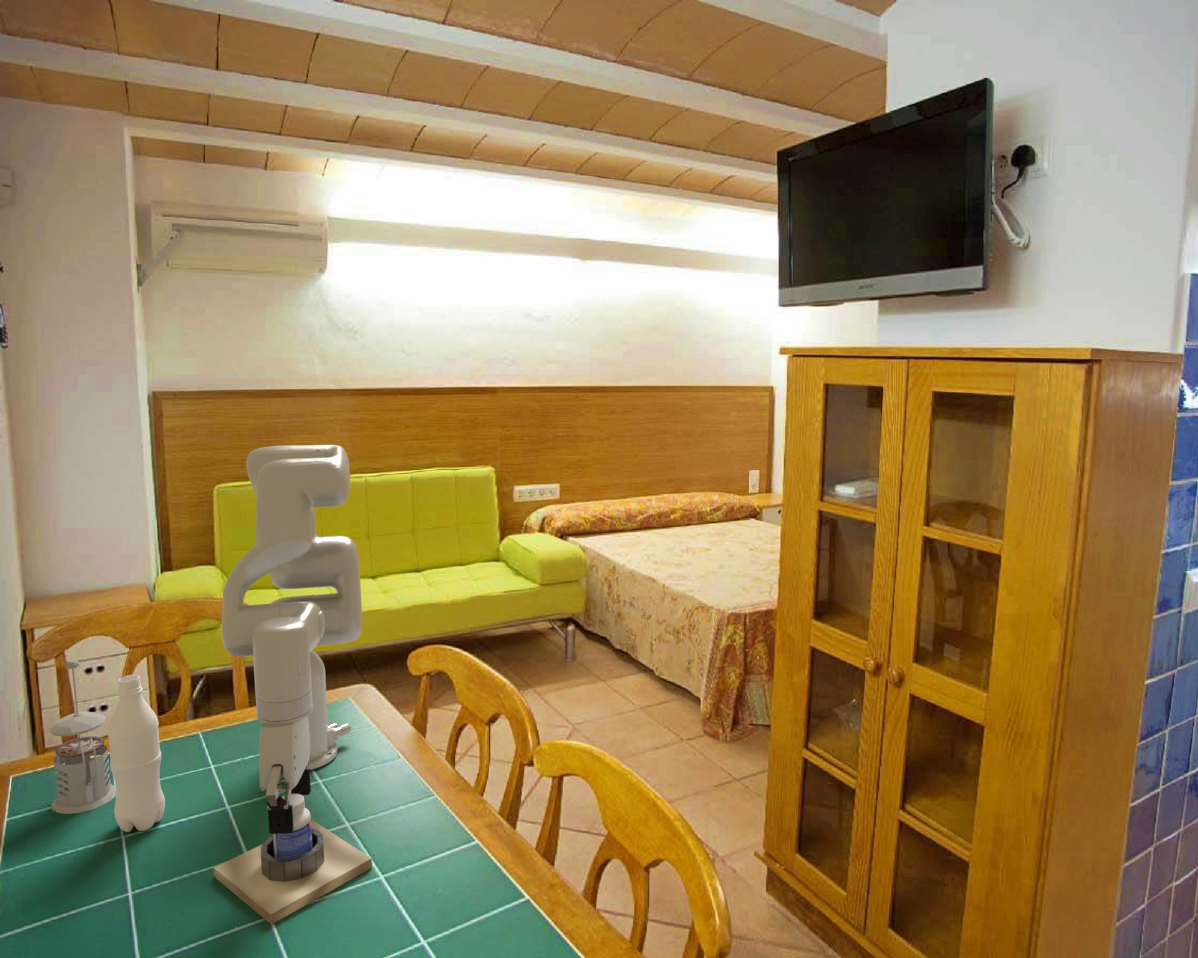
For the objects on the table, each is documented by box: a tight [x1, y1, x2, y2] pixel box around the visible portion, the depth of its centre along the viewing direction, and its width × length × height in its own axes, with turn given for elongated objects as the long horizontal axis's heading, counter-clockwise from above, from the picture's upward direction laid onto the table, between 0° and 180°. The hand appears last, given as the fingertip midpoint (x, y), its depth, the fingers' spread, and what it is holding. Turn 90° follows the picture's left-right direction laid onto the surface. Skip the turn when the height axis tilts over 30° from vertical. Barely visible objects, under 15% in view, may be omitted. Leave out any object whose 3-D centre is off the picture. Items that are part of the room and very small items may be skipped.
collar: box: [261, 828, 324, 882], centre depth 119 cm, size 9×9×3 cm
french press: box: [49, 659, 116, 815], centre depth 137 cm, size 10×12×25 cm
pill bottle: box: [272, 794, 313, 859], centre depth 119 cm, size 5×5×10 cm
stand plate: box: [213, 819, 373, 925], centre depth 119 cm, size 16×16×2 cm
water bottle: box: [106, 674, 166, 833], centre depth 130 cm, size 7×7×25 cm
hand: (291, 812), depth 118 cm, fingers open, 9 cm apart
